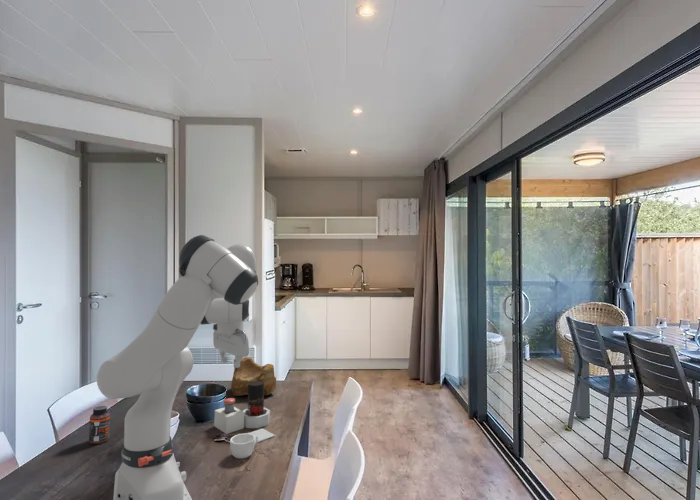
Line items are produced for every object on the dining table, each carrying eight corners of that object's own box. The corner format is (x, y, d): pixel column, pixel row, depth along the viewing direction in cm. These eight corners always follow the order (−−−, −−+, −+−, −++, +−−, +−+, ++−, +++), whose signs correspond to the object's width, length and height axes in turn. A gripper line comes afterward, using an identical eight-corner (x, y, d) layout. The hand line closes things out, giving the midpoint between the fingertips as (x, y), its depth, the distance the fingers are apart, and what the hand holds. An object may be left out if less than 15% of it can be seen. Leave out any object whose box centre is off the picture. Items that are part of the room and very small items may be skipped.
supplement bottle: (99, 445, 139) (100, 411, 139) (84, 443, 140) (85, 410, 140) (113, 438, 144) (114, 405, 144) (98, 436, 146) (99, 403, 146)
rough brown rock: (215, 396, 190) (215, 364, 189) (242, 383, 204) (241, 353, 203) (254, 407, 179) (254, 373, 177) (279, 393, 193) (279, 361, 192)
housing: (274, 422, 159) (274, 407, 159) (231, 437, 146) (231, 420, 146) (256, 413, 168) (256, 398, 168) (214, 426, 155) (214, 410, 155)
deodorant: (244, 423, 158) (244, 384, 158) (254, 418, 163) (255, 380, 163) (256, 427, 155) (257, 386, 155) (266, 421, 161) (267, 382, 161)
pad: (275, 436, 148) (275, 435, 148) (255, 443, 142) (255, 442, 142) (262, 429, 153) (262, 428, 153) (243, 435, 148) (243, 434, 148)
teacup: (239, 464, 128) (240, 446, 128) (224, 456, 133) (225, 439, 133) (264, 452, 136) (265, 435, 136) (249, 445, 141) (250, 429, 141)
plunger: (236, 415, 155) (237, 400, 155) (226, 418, 152) (227, 402, 152) (231, 412, 158) (231, 397, 158) (221, 415, 155) (221, 399, 155)
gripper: (253, 330, 150) (252, 369, 149) (225, 322, 164) (224, 357, 164) (237, 332, 145) (237, 372, 145) (210, 324, 160) (209, 360, 160)
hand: (230, 364), depth 155 cm, fingers open, 8 cm apart
